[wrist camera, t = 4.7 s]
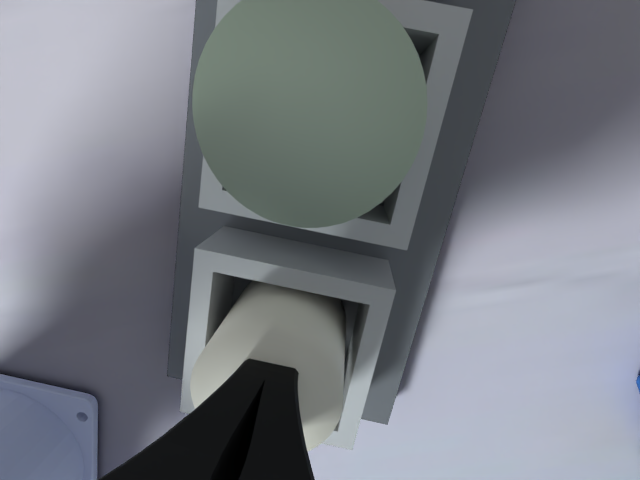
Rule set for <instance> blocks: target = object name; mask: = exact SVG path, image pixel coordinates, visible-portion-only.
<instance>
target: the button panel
mask: <svg viewBox="0 0 640 480" xmlns="http://www.w3.org/2000/svg"><path fill="white" fill-rule="evenodd" d="M240 1H241V0H196V8H195V21H194V34H193V47H192V60H191V73H190V86H189V99H188V112H187V125H186V138H185V150H184V163H183V176H182V189H181V202H180V215H179V228H178V241H177V254H176V267H175V280H174V293H173V306H172V319H171V332H170V345H169V358H168V370H167V376H169V377H173V378H178V379H183V380H182V391H181V402H180V412H183V413H187V414H190V413H191V412H192V411H194V410H195V407H194V405H193V401H192V398H191V391H190V380H191V374H192V370H193V367H194V365H195V363H196V361H197V359H198V357H199V355H200V354H201V353H202V351H203V350H204V348H205V347H206V345H207V344H208V342H209V341H210V339H211V338H212V336H213V335H214V333H215V332H216V330H217V329H218V328H219V326H220V325H221V323H222V322H223V320H224V319H225V317H226V316H227V314H228V313H229V311H230V310H231V308H232V307H233V305H234V304H235V303H236V301H237V300H238V298H239V297H240V295H241V294H242V292H243V291H244V290H245V288H246V287H247V286H248V285H249V284H250V283H251V282H252V281H253V280H254V281H259V282H264V283H269V284H273V285H278V286H283V287H288V288H292V289H297V290H302V291H306V292H311V293H316V294H321V295H325V296H330V297H335V298H340V300H341V302H342V304H343V307H344V310H345V315H346V338H345V363H344V387H343V407H342V413H341V416H340V419H339V422H338V424H337V426H336V427H335V429H334V431H333V432H332V433H331V435H330V436H329V437H328V438H327V439H326V440H325V441H324V442H323V443H322V444H326V445H330V446H335V447H339V448H344V449H348V450H352V449H353V446H354V442H355V438H356V435H357V431H358V428H359V424H360V420H361V419H364V420H368V421H373V422H377V423H382V424H387V425H388V421H389V418H390V415H391V411H392V408H393V405H394V402H395V398H396V395H397V392H398V388H399V385H400V382H401V378H402V375H403V372H404V368H405V365H406V362H407V359H408V355H409V352H410V349H411V345H412V342H413V339H414V335H415V332H416V329H417V326H418V322H419V319H420V316H421V312H422V309H423V306H424V302H425V299H426V296H427V292H428V289H429V286H430V283H431V279H432V276H433V273H434V269H435V266H436V263H437V259H438V256H439V253H440V250H441V246H442V243H443V240H444V236H445V233H446V230H447V226H448V223H449V220H450V217H451V213H452V210H453V207H454V203H455V200H456V197H457V193H458V190H459V187H460V183H461V180H462V177H463V174H464V170H465V167H466V164H467V160H468V157H469V154H470V150H471V147H472V144H473V141H474V137H475V134H476V131H477V127H478V124H479V121H480V117H481V114H482V111H483V107H484V104H485V101H486V98H487V94H488V91H489V88H490V84H491V81H492V78H493V74H494V71H495V68H496V65H497V61H498V58H499V55H500V51H501V48H502V45H503V41H504V38H505V35H506V32H507V28H508V25H509V22H510V18H511V15H512V12H513V8H514V5H515V2H516V0H378V1H379V2H380V3H381V4H382V5H383V6H385V7H386V8H387V9H388V10H389V11H390V12H391V13H392V14H393V15H394V16H395V18H396V19H397V20H398V21H399V22H400V23H401V25H402V26H403V28H404V29H405V31H406V32H407V34H408V35H409V37H410V38H411V40H412V42H413V44H414V46H415V49H416V51H417V53H418V55H419V58H420V61H421V64H422V67H423V71H424V76H425V81H426V87H427V119H426V125H425V130H424V135H423V139H422V142H421V145H420V148H419V151H418V154H417V156H416V158H415V160H414V162H413V164H412V166H411V168H410V170H409V171H408V173H407V174H406V176H405V177H404V179H403V180H402V182H401V183H400V184H399V185H398V186H397V188H396V189H395V190H394V191H393V192H392V193H391V194H390V195H389V196H388V197H387V198H386V199H385V200H384V201H383V202H381V203H380V204H379V205H377V206H376V207H375V208H373V209H372V210H370V211H369V212H367V213H365V214H363V215H361V216H359V217H358V218H355V219H353V220H350V221H347V222H345V223H341V224H337V225H333V226H328V227H320V228H300V227H293V226H287V225H283V224H280V223H276V222H273V221H271V220H268V219H266V218H263V217H261V216H259V215H257V214H256V213H254V212H252V211H250V210H249V209H247V208H246V207H245V206H243V205H242V204H241V203H239V202H238V201H237V200H236V199H235V198H234V197H232V196H231V195H230V194H229V193H228V192H227V191H226V190H225V188H224V187H223V186H222V185H221V184H220V182H219V181H218V180H217V178H216V177H215V175H214V174H213V172H212V171H211V169H210V168H209V166H208V164H207V162H206V160H205V158H204V156H203V154H202V151H201V148H200V145H199V142H198V139H197V135H196V131H195V126H194V120H193V110H192V93H193V85H194V77H195V73H196V69H197V65H198V62H199V58H200V56H201V54H202V51H203V49H204V46H205V44H206V42H207V41H208V39H209V37H210V35H211V34H212V32H213V30H214V29H215V27H216V26H217V25H218V23H219V22H220V21H221V20H222V18H223V17H224V16H225V15H226V14H227V13H228V12H229V11H230V10H231V9H232V8H233V7H234V6H235V5H236V4H237V3H239V2H240Z"/></svg>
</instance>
